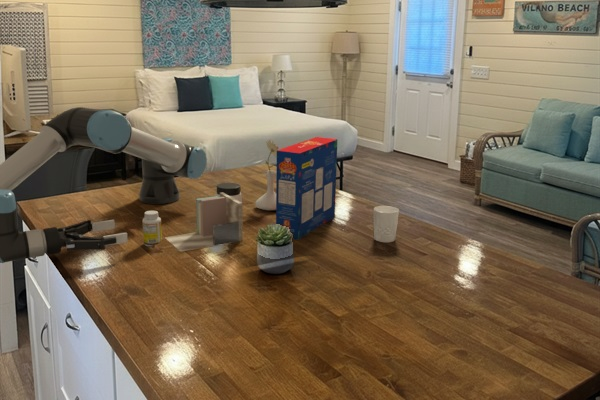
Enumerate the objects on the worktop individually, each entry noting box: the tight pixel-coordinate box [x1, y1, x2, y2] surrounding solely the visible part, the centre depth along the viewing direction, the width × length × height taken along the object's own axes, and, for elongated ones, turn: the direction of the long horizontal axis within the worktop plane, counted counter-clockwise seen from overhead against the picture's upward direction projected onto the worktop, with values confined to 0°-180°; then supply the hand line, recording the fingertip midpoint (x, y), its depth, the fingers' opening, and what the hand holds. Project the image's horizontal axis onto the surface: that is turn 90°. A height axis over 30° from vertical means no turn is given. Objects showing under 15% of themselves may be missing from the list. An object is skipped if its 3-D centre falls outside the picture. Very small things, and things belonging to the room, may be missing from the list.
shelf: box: [164, 192, 244, 253], centre depth 187 cm, size 14×20×13 cm
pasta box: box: [275, 136, 338, 241], centre depth 203 cm, size 28×8×28 cm, turn 152°
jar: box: [215, 182, 243, 204], centre depth 211 cm, size 9×8×12 cm
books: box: [195, 195, 227, 237], centre depth 193 cm, size 5×8×12 cm, turn 121°
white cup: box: [373, 205, 400, 243], centre depth 194 cm, size 8×8×10 cm
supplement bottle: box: [141, 210, 163, 248], centre depth 185 cm, size 6×6×10 cm
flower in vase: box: [254, 139, 279, 211], centre depth 222 cm, size 13×11×25 cm
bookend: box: [213, 222, 240, 246], centre depth 185 cm, size 1×8×6 cm, turn 121°
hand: (120, 230), depth 180 cm, fingers open, 13 cm apart
